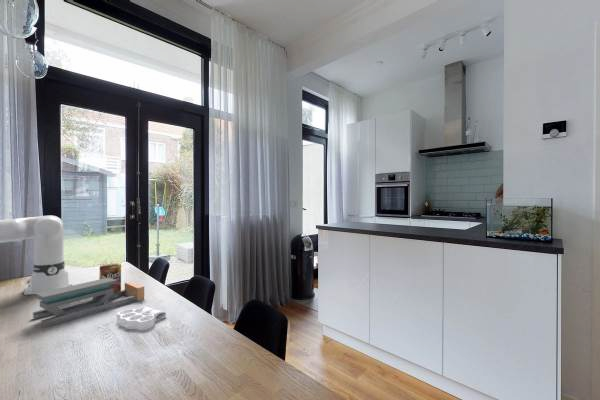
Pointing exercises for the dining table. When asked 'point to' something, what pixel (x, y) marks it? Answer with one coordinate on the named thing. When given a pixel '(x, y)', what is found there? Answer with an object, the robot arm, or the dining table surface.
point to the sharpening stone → (76, 296)
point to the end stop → (134, 290)
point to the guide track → (84, 311)
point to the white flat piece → (139, 318)
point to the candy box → (112, 274)
